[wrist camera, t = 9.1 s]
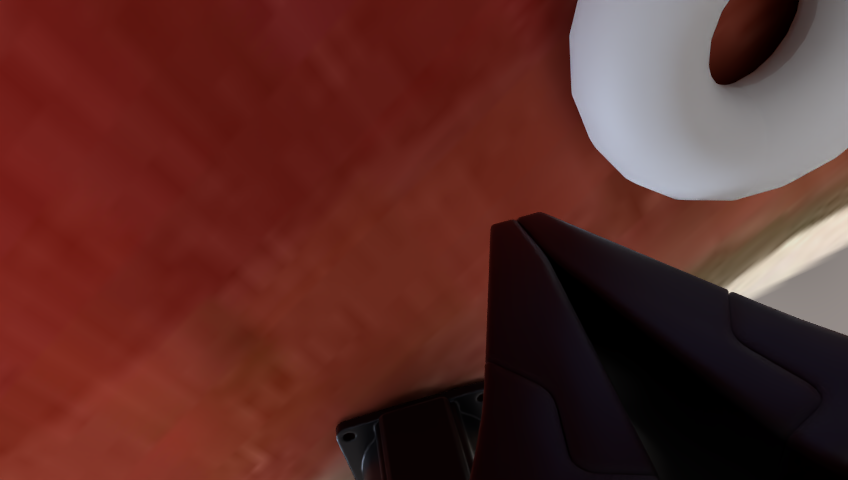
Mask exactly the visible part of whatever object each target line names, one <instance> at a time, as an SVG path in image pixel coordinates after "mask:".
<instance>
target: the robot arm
mask: <svg viewBox="0 0 848 480" xmlns="http://www.w3.org/2000/svg"><path fill="white" fill-rule="evenodd" d="M336 438H337V442H338V444H339V446H340V448H341V450H342V452H343V454H344V456H345V459H346V461H347V463H348V465H349V467H350V469H351V471H352V473H353V475H354V477H355V479H356V480H848V336H846V335H844V334H841V333H838V332H835V331H832V330H830V329H827V328H824V327H821V326H818V325H816V324H813V323H810V322H807V321H804V320H801V319H799V318H796V317H794V316H791V315H788V314H786V313H784V312H781V311H778V310H776V309H773V308H771V307H768V306H766V305H763V304H761V303H758V302H756V301H754V300H751V299H749V298H746V297H744V296H742V295H739V294H737V293H734V292H731V293H728V290H727V289H724V288H722V287H720V286H717V285H715V284H712V283H710V282H708V281H705V280H703V279H700V278H698V277H696V276H693V275H691V274H688V273H686V272H684V271H681V270H679V269H677V268H674V267H672V266H669V265H667V264H665V263H662V262H660V261H657V260H655V259H653V258H650V257H648V256H645V255H643V254H641V253H638V252H636V251H633V250H631V249H629V248H626V247H624V246H621V245H619V244H617V243H614V242H612V241H610V240H607V239H605V238H602V237H600V236H598V235H595V234H593V233H590V232H588V231H586V230H583V229H581V228H578V227H576V226H574V225H571V224H569V223H566V222H564V221H562V220H559V219H557V218H555V217H552V216H550V215H547V214H545V213H542V212H537V213H533V214H530V215H526V216H523V217H519V218H518V219H517V221H516V220H508V221H504V222H501V223H497V224H494V225H492V226H491V233H490V259H489V284H488V310H487V336H486V365H485V379H484V381H483V382H478V383H474V384H471V385H467V386H464V387H460V388H457V389H454V390H450V391H447V392H443V393H440V394H436V395H433V396H429V397H426V398H423V399H419V400H416V401H412V402H409V403H405V404H402V405H398V406H395V407H391V408H388V409H385V410H381V411H378V412H374V413H371V414H367V415H364V416H360V417H357V418H354V419H350V420H347V421H344V422H342V423H340V424H339V425H338V426H337V428H336Z"/></svg>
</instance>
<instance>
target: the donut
mask: <svg viewBox="0 0 848 480" xmlns="http://www.w3.org/2000/svg"><path fill="white" fill-rule="evenodd" d="M728 1H729V0H578V2H577V6H576V10H575V15H574V19H573V23H572V27H571V31H570V35H569V41H570V65H571V89H572V96H573V98H574V101H575V103H576V106H577V108H578V111H579V113H580V116H581V118H582V121H583V123H584V126H585V128H586V131H587V133H588V136H589V138H590V140H591V142H592V143H593V145H594V146H595V148H596V149H597V150H598V151H599V152H600V153H601V154H602V155H603V156H604V157H605V158H606V159H607V160H608V161H609V162H610V163H611V164H612V165H613V166H614V167H615V168H616V169H617V170H618V171H619V172H620V173H621V174H622V175H623V176H624V177H625V178H626V179H628V180H630V181H632V182H634V183H636V184H638V185H640V186H643V187H645V188H648V189H650V190H653V191H656V192H658V193H661V194H663V195H666V196H668V197H671V198H673V199H676V200H728V201H733V200H737V199H740V198H744V197H748V196H751V195H755V194H758V193H762V192H765V191H769V190H772V189H776V188H780V187H782V186H784V185H786V184H788V183H790V182H792V181H794V180H796V179H798V178H800V177H801V176H803V175H805V174H807V173H809V172H811V171H812V170H814V169H816V168H818V167H820V166H822V165H823V164H825V163H827V162H829V161H831V160H833V159H834V158H836V157H837V156H838V155H840V154H841V153H842V152H843V151H844V150H846V149H847V148H848V0H799V4H798V10H797V12H796V15H795V17H794V19H793V21H792V24H791V26H790V28H789V31H788V33H787V35H786V36H785V37H784V39H783V40H782V42H781V43H780V44H779V46H778V47H777V49H776V50H775V51H774V53H773V54H772V55H771V56H770V57H769V58H768V59H767V60H766V61H765V62H764V63H763V64H761V65H760V66H759V67H758V68H757V69H756V70H755V71H754V72H752V73H750V74H749V75H747V76H745V77H744V78H742V79H740V80H738V81H737V82H735V83H732V84H728V85H719V84H717V83H716V82H715V81H714V79H713V78H712V77H711V73H710V69H709V57H710V47H711V39H712V36H713V34H714V31H715V28H716V26H717V23H718V20H719V18H720V15H721V12H722V11H723V9H724V8H725V6H726V4H727V3H728Z"/></svg>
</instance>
